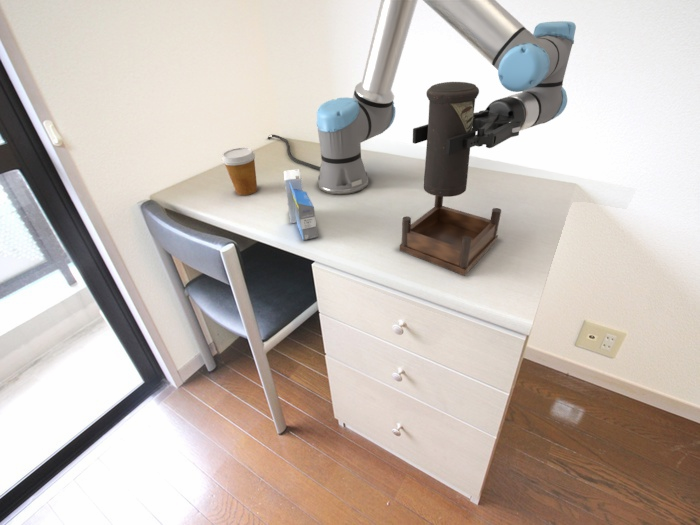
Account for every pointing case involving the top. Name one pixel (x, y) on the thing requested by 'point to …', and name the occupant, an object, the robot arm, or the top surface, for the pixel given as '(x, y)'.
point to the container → (445, 122)
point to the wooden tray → (450, 237)
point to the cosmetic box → (297, 185)
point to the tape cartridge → (304, 214)
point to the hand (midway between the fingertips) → (430, 141)
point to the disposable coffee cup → (241, 169)
